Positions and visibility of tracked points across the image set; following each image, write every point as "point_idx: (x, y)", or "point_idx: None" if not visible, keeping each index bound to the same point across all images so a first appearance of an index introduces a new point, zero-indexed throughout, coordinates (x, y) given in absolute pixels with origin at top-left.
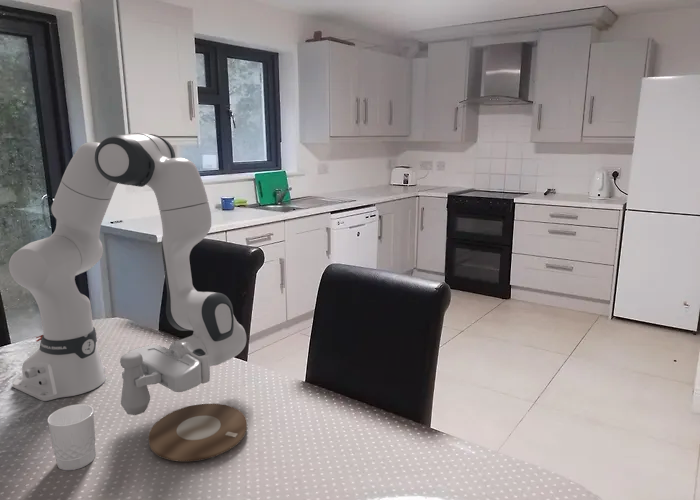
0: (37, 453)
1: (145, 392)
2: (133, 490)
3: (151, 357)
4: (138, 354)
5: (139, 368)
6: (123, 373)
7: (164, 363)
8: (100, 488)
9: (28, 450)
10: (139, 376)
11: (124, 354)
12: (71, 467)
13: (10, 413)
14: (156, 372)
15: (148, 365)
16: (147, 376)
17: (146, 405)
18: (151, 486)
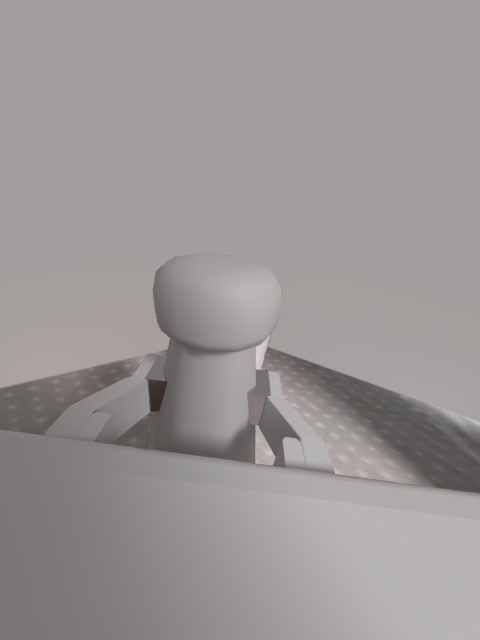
0: (287, 376)
1: (151, 447)
2: (71, 377)
3: (318, 604)
4: (183, 268)
5: (176, 351)
6: (265, 370)
7: (6, 578)
8: (133, 365)
9: (304, 375)
10: (164, 370)
11: (260, 265)
12: None
13: (449, 415)
14: (74, 436)
15: (200, 457)
16: (117, 383)
17: None
18: (36, 392)
